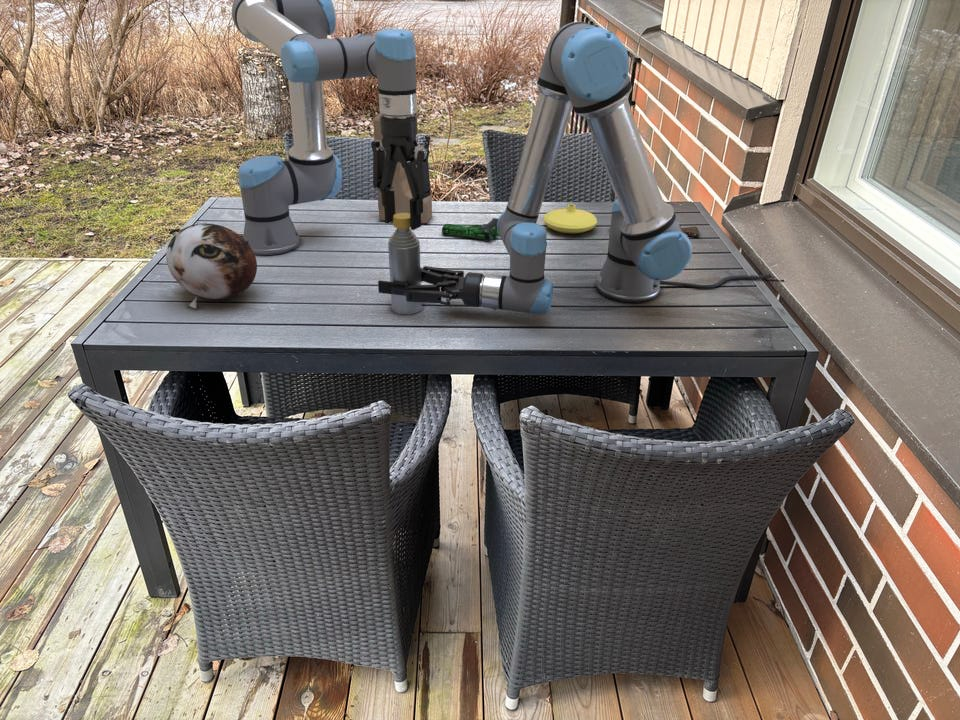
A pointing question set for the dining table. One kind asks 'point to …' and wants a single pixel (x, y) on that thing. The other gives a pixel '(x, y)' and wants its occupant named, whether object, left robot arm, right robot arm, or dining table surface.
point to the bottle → (404, 267)
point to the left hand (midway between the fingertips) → (403, 224)
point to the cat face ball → (211, 261)
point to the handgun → (473, 230)
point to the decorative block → (400, 187)
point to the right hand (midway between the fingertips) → (384, 279)
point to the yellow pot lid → (570, 220)
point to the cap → (401, 220)
